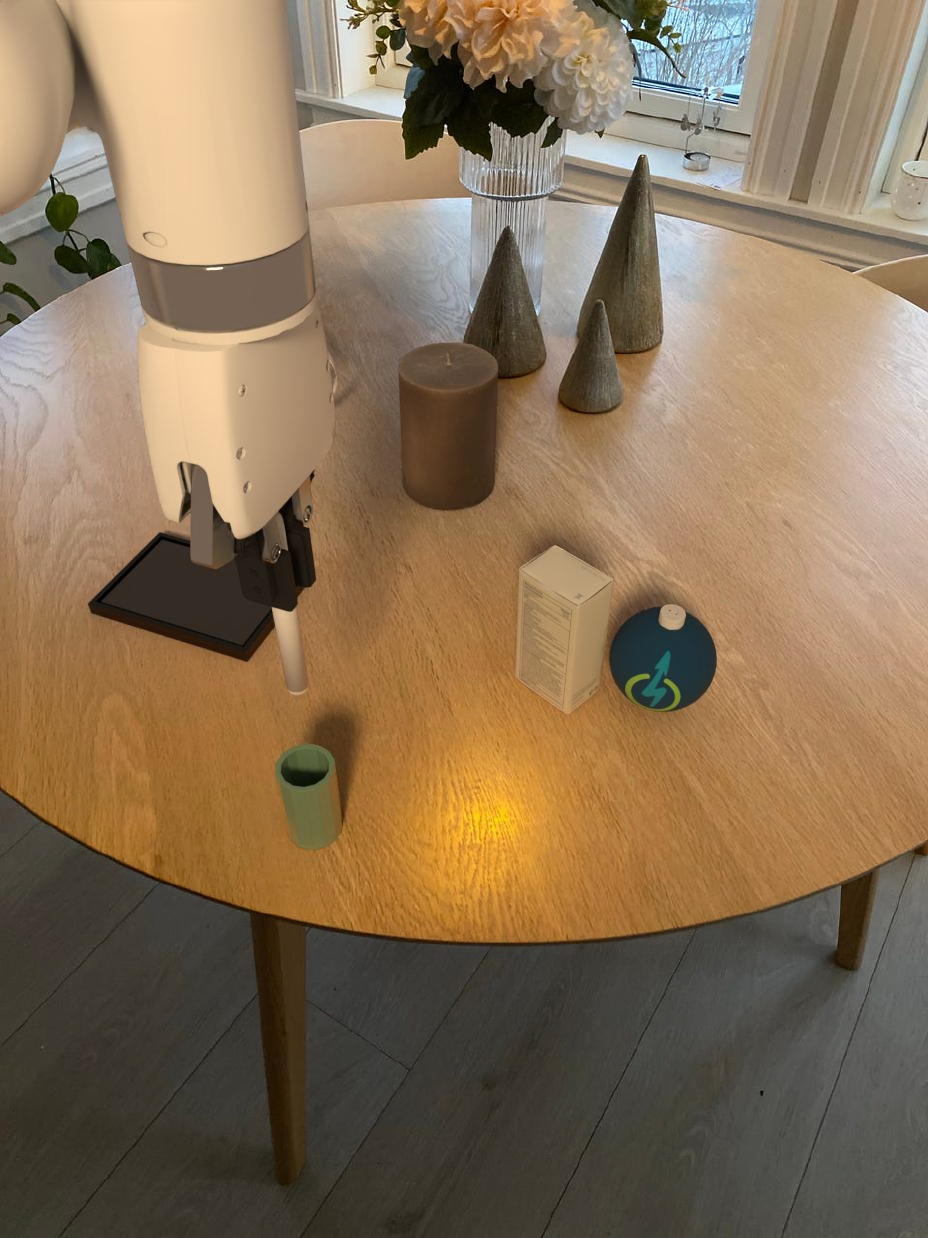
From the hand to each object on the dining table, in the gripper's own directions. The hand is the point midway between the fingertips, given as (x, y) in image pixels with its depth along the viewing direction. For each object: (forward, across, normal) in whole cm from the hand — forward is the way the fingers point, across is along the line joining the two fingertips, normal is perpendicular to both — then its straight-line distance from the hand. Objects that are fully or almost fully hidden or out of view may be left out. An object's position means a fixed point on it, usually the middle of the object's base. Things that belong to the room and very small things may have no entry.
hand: (280, 589), depth 54 cm
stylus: (+9, 0, 0) cm, 9 cm away
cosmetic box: (+23, -20, +12) cm, 33 cm away
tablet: (+23, -18, -21) cm, 36 cm away
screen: (+22, -18, -21) cm, 36 cm away
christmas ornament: (+24, -22, +20) cm, 38 cm away
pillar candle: (+23, -43, -7) cm, 49 cm away
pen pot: (+23, 0, 0) cm, 23 cm away
